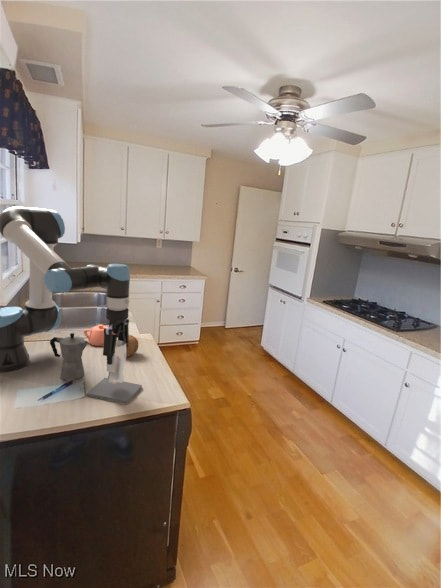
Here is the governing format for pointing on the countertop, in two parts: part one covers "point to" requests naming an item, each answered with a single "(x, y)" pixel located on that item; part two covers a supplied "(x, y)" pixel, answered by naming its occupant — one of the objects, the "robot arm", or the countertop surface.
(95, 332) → the teapot
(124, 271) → the robot arm
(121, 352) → the beer glass
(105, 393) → the slate board
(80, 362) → the coffeepot
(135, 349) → the onion
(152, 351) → the countertop surface
